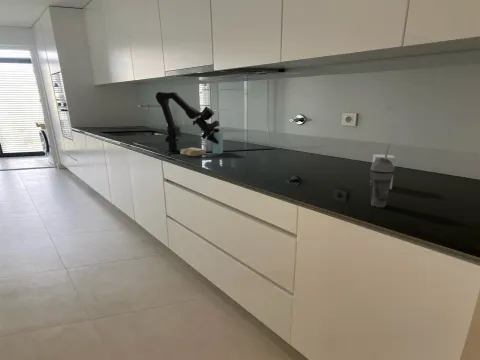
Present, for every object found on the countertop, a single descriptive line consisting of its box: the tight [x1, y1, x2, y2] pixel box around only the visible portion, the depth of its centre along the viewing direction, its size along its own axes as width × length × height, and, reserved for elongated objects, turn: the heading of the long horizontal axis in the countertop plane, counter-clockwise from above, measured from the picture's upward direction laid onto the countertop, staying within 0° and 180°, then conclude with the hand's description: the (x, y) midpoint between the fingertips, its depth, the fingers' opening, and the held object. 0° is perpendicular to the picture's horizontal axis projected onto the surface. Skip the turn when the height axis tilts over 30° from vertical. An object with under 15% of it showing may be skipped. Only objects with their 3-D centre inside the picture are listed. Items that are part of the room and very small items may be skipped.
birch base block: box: [179, 147, 207, 157], centre depth 212 cm, size 14×10×3 cm
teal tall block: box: [212, 132, 224, 154], centre depth 214 cm, size 5×5×13 cm
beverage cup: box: [369, 144, 395, 208], centre depth 106 cm, size 7×7×20 cm
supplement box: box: [372, 153, 396, 190], centre depth 130 cm, size 7×7×13 cm
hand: (219, 143), depth 214 cm, fingers closed on teal tall block, 5 cm apart
